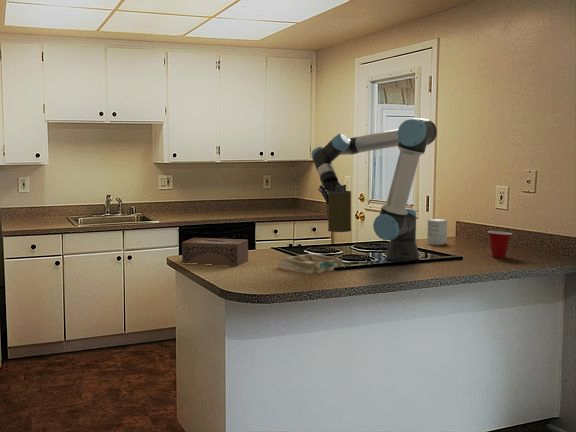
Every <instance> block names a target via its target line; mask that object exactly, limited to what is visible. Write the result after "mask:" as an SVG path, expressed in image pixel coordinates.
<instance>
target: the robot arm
mask: <svg viewBox="0 0 576 432" xmlns="http://www.w3.org/2000/svg"><path fill="white" fill-rule="evenodd" d="M437 136H438V128H437V126H436V124H435V122H433V121H432V120H430V119H428V118H419V117H417V118H416V117H411V118H408V119H405V120H404V121H403V122H402V123H400V125H399V126H398V128H397V129H392V130H386V131H382V132H377V133H372V134H371V133H370V134H367V135H366V134H365V135H361V136H354V137H349V138H348V137H347V136H346V135H345V134H343V133H338V134H337V135H335V136H333V137H332V138H331V140H329V142H327V144H326V145H324V147H323V146H317V147H316V148H314V149H313V150H311V153H310V154H311V158H312V162H313V164H314V167H315V169H316V171H317V174H318V177H319V180H320V183H321V184H320V185H319V187H318V189H317V190H318V191H319V192H320V193H321V195H322V197H323V198H324V201H325V202H326V205H327V204H328V193H327V198H326V191H327V192H328V191H335V186H337V185H341V183H340V181H339V179H338V176H337V174H336V170H335V168H334V167H333V166H334V165H333V161H335V160H336V159H337V158H338V157H339V156H342V155H343V156H344V155H345V156H346V155H350V156H351V155H357V154H359V153H367V152H370V151H371V152H372V151H376V150H382V149H384V150H385V149H389V148H394V147H397V148H398V149H399V153H398V154H399V155H398V159H397V163H396V165H395V166H396V167H395V170H394V173H393V178H392V181H391V184H390V188H389V192H388V195H387V199H386V203H385V204H383V205H382V206H381V207H380V212H379V215H377V217H375V219H374V221H373V225H372V226H373V227H372V228H373V232H374V233H375V235H376V236H377V237H378V238H379V239H381V240H383V241H389V243H388V247H387V249H386V252H385V259H386V258H387V260H389V259H390V260H389V261H395V260H414V261H416V260H415V259H418V260H420V253H419V248H418V245H417V242H416V239H417V237H416V235H417V212H416V210H415V209H411V208H406V207H407V203H408V200H409V196H410V193H411V190H412V186H413V182H414V178H415V175H416V171H417V167H418V163H419V161H420V160H419V159H420V157H421V155H424V154H425V152H426V148H427V146H429V145H431V144H432V143H434V141H435V140H436V138H437ZM343 185H344V186H345V187H344V191H347V189H346V188H347V184H343ZM347 214H348V213H347Z"/></svg>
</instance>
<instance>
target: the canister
mask: <svg viewBox="0 0 576 432" xmlns="http://www.w3.org/2000/svg"><path fill="white" fill-rule="evenodd" d="M344 185H345V184H340V185H337V186H335V191H327V190H326V198H327V193H328V204H327V203H326V216H327V217H328V218H327V219H328V220H327V221H328V222H327V223H328V225H327V227H328V229H327V232H330V233H348V232H352V191H351V190H346V191H344V187H345V186H344ZM347 213H348V214H347Z"/></svg>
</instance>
